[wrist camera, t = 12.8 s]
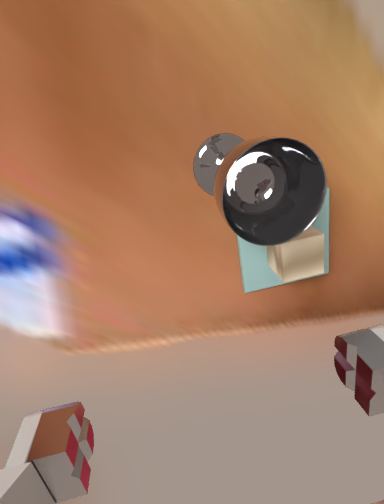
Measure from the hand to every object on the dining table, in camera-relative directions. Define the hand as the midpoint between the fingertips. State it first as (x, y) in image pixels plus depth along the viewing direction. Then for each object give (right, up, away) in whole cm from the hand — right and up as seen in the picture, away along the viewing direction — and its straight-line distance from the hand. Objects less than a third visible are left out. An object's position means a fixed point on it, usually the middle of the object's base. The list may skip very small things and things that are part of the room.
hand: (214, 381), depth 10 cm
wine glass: (+3, +14, +27) cm, 30 cm away
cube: (+11, +5, +31) cm, 33 cm away
